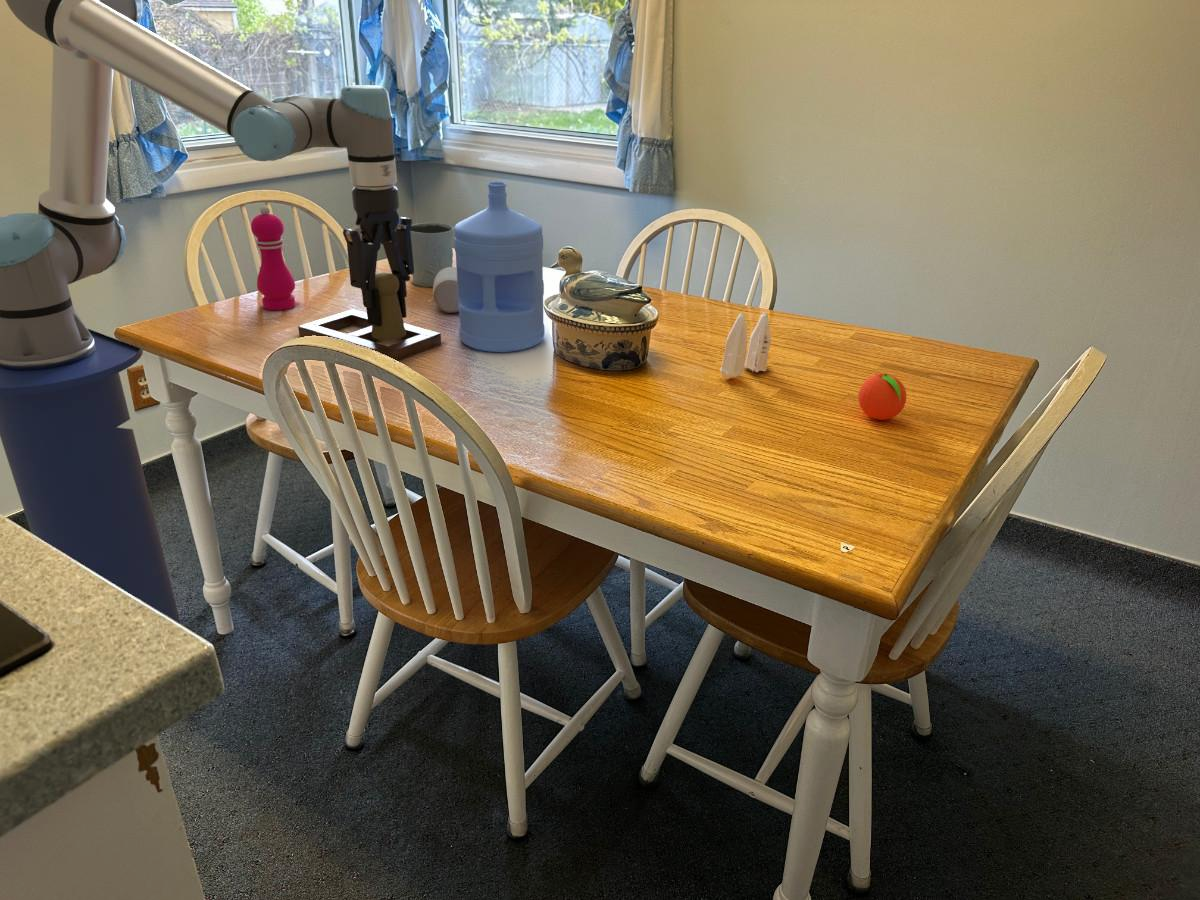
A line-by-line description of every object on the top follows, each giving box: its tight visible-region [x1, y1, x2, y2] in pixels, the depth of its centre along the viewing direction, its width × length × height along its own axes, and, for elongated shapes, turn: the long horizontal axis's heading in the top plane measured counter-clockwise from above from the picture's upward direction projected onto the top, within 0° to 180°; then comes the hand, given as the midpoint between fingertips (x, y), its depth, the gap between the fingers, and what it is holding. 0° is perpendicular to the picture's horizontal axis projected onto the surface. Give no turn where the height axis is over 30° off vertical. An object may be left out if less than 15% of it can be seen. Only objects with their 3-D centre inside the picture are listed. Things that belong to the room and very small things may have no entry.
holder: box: [297, 308, 442, 361], centre depth 161 cm, size 13×24×2 cm, turn 55°
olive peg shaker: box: [372, 272, 406, 341], centre depth 155 cm, size 6×6×11 cm
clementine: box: [857, 373, 907, 421], centre depth 132 cm, size 8×7×7 cm
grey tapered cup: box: [410, 222, 455, 288], centre depth 193 cm, size 10×10×12 cm
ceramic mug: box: [432, 266, 459, 314], centre depth 177 cm, size 11×8×8 cm
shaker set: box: [719, 311, 772, 380], centre depth 146 cm, size 12×4×11 cm, turn 134°
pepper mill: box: [250, 205, 296, 311], centre depth 174 cm, size 7×7×20 cm
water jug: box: [453, 181, 546, 353], centre depth 156 cm, size 16×16×28 cm
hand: (387, 319), depth 156 cm, fingers closed on olive peg shaker, 5 cm apart
